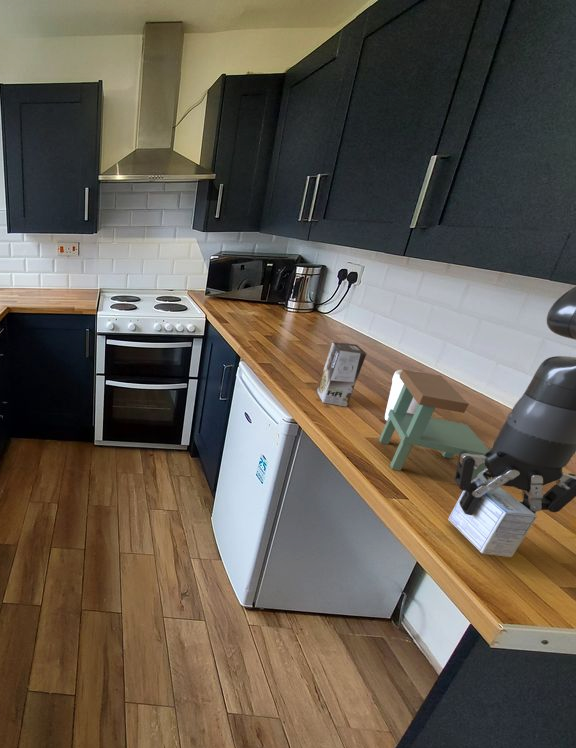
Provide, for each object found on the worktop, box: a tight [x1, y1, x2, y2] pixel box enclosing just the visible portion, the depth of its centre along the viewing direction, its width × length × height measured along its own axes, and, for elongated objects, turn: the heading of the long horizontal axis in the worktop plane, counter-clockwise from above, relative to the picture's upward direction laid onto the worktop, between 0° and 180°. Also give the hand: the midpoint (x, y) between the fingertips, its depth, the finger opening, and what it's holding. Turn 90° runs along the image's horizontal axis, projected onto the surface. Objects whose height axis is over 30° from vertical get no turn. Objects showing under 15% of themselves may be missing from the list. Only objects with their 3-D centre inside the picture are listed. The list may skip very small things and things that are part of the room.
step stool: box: [378, 369, 491, 481], centre depth 86 cm, size 14×16×18 cm
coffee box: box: [316, 341, 367, 408], centre depth 115 cm, size 9×6×16 cm
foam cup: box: [384, 369, 419, 422], centre depth 104 cm, size 10×9×13 cm
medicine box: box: [448, 486, 538, 558], centre depth 65 cm, size 8×4×9 cm, turn 170°
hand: (489, 517), depth 65 cm, fingers closed on medicine box, 5 cm apart
